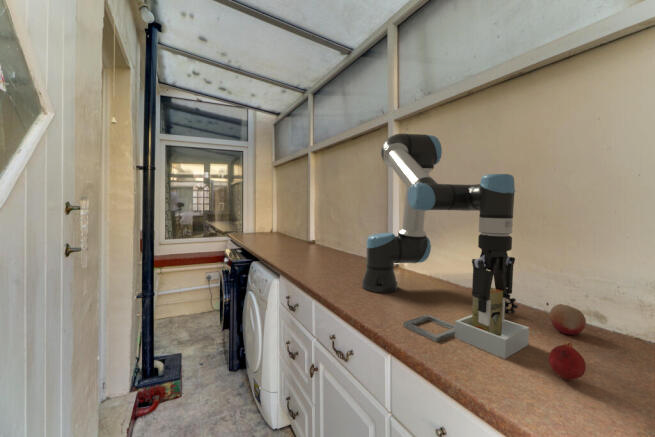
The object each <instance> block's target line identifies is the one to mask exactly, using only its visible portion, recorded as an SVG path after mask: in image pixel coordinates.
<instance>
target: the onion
mask: <svg viewBox="0 0 655 437" xmlns="http://www.w3.org/2000/svg"><path fill="white" fill-rule="evenodd" d="M573 346H574V345H573V343H571V341H565V342H564V343H563V344H562V345H558V346H554V347H553V348H552V349H551V351H550V353H548V354H549V355H548V363H549V365H550V367H551V369H552V370H553V371H554V373H555V374H557V375H558V376H559V377H560V378H561V379H563V380H564V381H568V382H569V381H571V380H572V381H573V380H577V379H579V378H581V377H582V376H584V375H585V372H586V368H587V365H586V362H585V359H584V357H583V355H581V353H580V352H579V351H578V350H576V349H575V348H574V347H573Z"/></svg>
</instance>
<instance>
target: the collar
mask: <svg viewBox="0 0 655 437" xmlns="http://www.w3.org/2000/svg"><path fill="white" fill-rule="evenodd" d="M427 321H429V322H431V323H434V324H437V325H439V326H442V327H444V328H447V330H445V331H442V332H439V333H436V334H435V333H432V332H431V331H428V330H426V329H423V328H422V327H420V326H417V325H418V324H421V323H424V322H427ZM402 327H403V328H406V329H408V330H410V331H412V332H414V333H417V334H419V335H421V336H422V337H425V338H426V339H429V340H431V341H433V342H435V343H438V342H440V341H443V340H445V339H448V338H450V337H453V336H455V323H454V324H453V323H450V322H448V321H447V320H446V321H445V320H443V319H441V318H439V317H436V316H433V315H431V314H428V313H427V314H425V315H421V316H418V317H415V318H412V319H409V320H405V321H403V322H402Z"/></svg>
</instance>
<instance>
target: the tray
mask: <svg viewBox="0 0 655 437" xmlns="http://www.w3.org/2000/svg"><path fill="white" fill-rule="evenodd" d="M454 325H455V335H454V338H455V339H456V340H460V341H461V342H465V343H466V344H469V345H470V346H473V347H475V348H478V349H481V350H482V351H485V352H487V353H490V354H492V355H494V356H497V357H499V358H501V359H503V360H506V359H507V358H509V357H510V356H512V355H514V354H515V353H517V352H519V351H520V350H522V349H524V348H526V347H528V346H529V339H530V338H529V337H530V335H529V334H530V327H529V326H526V325H524V324H520V323H516V322H515V321H514V322H513V321H510V320H507V319H504V322H503V323H502V334H501V336H498V335H495V334H492V333H490V332H487V331H484V330H482V329H479V328H476V327H473V326H472V314H470V315H467V316H465V317H462V318H460V319H456V320H455V321H454Z"/></svg>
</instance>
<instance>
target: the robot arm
mask: <svg viewBox="0 0 655 437" xmlns="http://www.w3.org/2000/svg"><path fill="white" fill-rule="evenodd" d="M442 151H443V150H442V144H441V141H440V139H439V138H438V137H437V136H434V135H431V134H418V133H396V134H394V135H391V136H390V137H388V138H387V139H386V140H385V141H384V142H383V144H382V146H381V150H380V155H381V159H382V160H383V162H384V164H385V165H386V166H388V167H390V168H392V169H393V171H394V172H395V173H396V175H397V176H398V178H400V180H401V181H402V183H403V184H404V185H405V195H404V196H405V197H404V205H403V206H404V208H403V218H402V227H401V228H400V229H399V230H398V233H397V236H396V235H395V233H393V232H379V233H374V234H371V235H369V236H368V237H367V239H366V245H365V247H366V268H365V269H366V270H365V273H364V276H363V279H362V280H361V287H362V289H364V290H366V291H370V292H374V293H393V292H395V291H396V292H397V291H398V282H397V279H396V274H395V270H394V269H395V268H394V267H395V264H417V263H418V264H419V263H424V262H425V261H426V260H428V258H429V256H430V254H431V250H432V244H431V240H430V239H429V237H428V236H427V233H426V231H424V226H425V225H424V224H425V217H426V216H425V215H426V212H427V211H463V212H464V211H466V212H467V211H468V212H470V211H477V212H478V211H479V218H478V219H479V220H478V232H479V233H480V234H479V235H478V241H477V242H478V245H477V247H478V248H479V249H480V250H481V251H480V252H481V253H480V255H479V258H472V259H471V265H472V286H471V290H472V291H471V296H472V297H473V296H474V297H477V298H478V311H479V318H478V322H479V323H482V324H484V325H486V326H490V308H491V301H490V300H488V299H489V294H490V289H491V288H492V283H493V282H494V288H495V289H498V290H502V291H503V300H502V323H503V322H504V320H505V314H506V313H505V301H507V299H506V298H511V294H512V293H513V284H514V283H513V282H514V281H513V280H514V278H513V277H514V265H515V261H516V258H515V257H513V256H509V255H508V251H509V252H510V251H511V250H512V248H513V247H512V246H513V237H512V236H511V235H512V234H513V225H514V224H513V222H514V219H513V218H514V205H515V193H516V189H515V177H514V175H512V174H509V173H491V174H484V175H483V176H481V178H480V182H479V184H478V183H477V184H458V183H457V184H453V183H450V184H449V183H438V182H437V181H436V180H434V179H433V177H432V176H431V175H430V173H431V172H432V171H433V170H434V169H435V168H434V167H435V165H437V164H439V162H440V160H441V159H442ZM508 294H509V295H508Z"/></svg>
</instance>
